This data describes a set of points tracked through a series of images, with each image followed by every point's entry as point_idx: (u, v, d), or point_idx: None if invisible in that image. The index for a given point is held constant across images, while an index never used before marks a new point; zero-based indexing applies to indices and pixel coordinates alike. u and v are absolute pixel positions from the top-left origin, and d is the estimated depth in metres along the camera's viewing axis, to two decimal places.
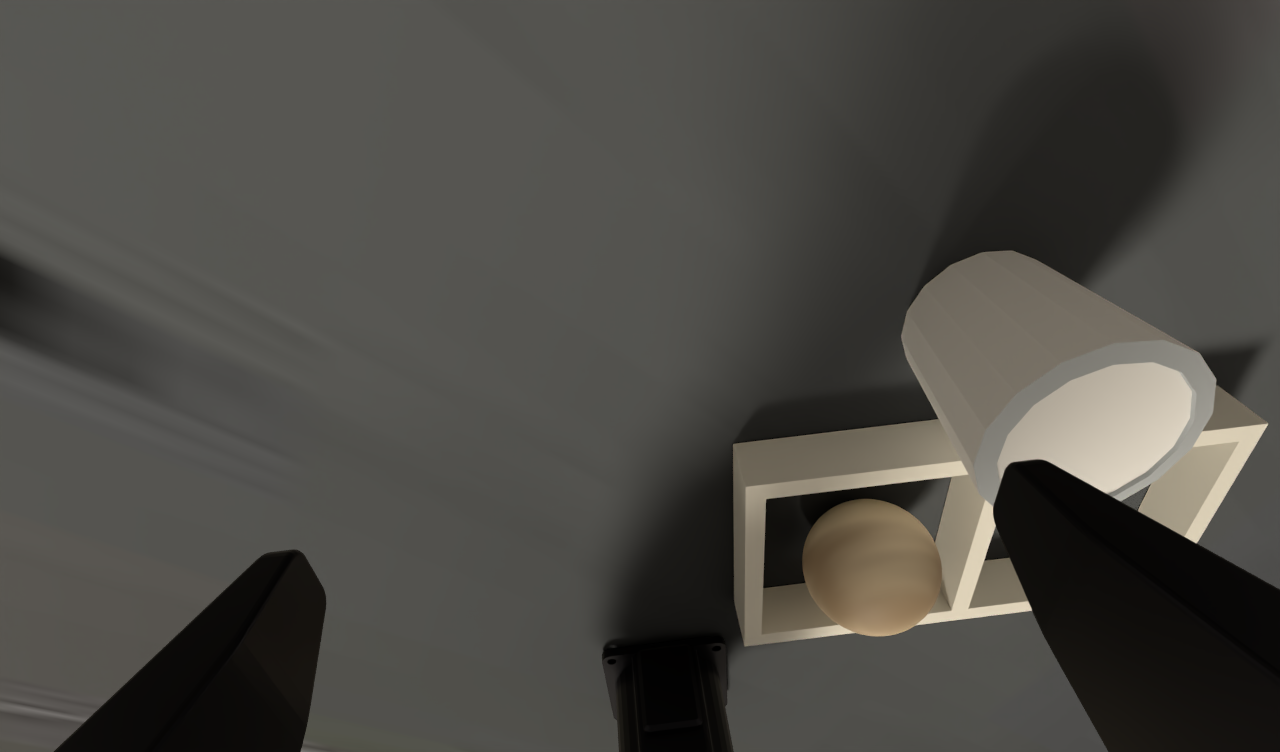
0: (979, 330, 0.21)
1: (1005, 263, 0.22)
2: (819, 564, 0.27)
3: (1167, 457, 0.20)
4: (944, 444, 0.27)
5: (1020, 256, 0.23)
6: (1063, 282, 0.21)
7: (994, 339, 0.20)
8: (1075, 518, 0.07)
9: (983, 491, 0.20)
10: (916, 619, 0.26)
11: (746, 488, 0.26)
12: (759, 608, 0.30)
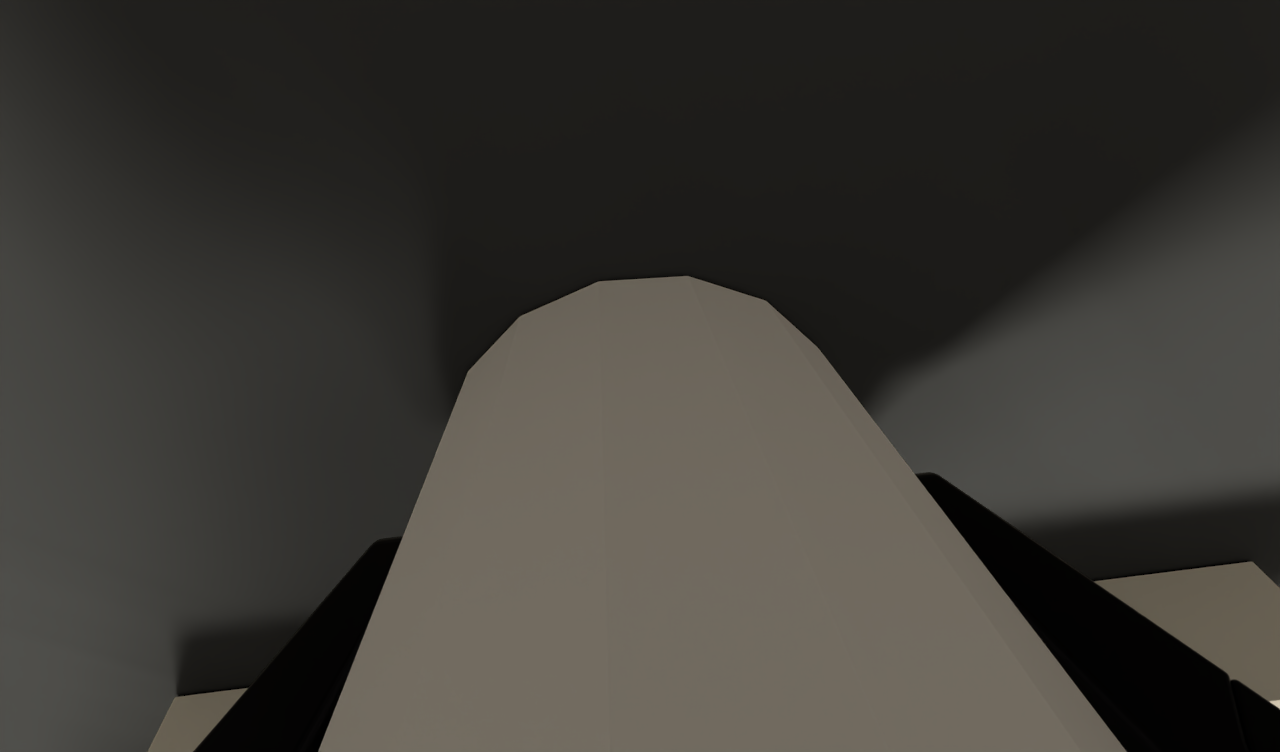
0: (395, 594, 0.05)
1: (621, 320, 0.07)
2: None
3: None
4: None
5: (691, 295, 0.08)
6: (731, 405, 0.06)
7: (375, 669, 0.05)
8: None
9: None
10: None
11: None
12: None
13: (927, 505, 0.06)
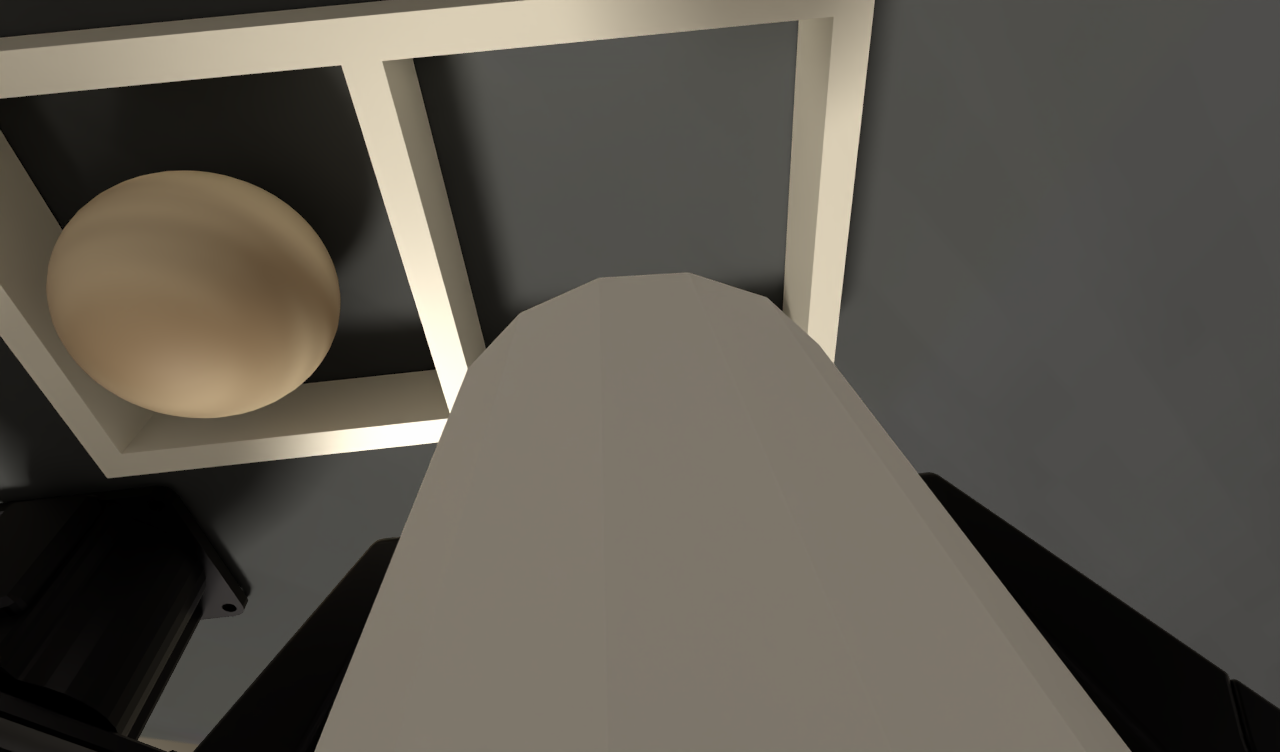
0: (394, 590, 0.05)
1: (621, 316, 0.07)
2: None
3: None
4: (259, 20, 0.13)
5: (691, 292, 0.08)
6: (731, 400, 0.06)
7: (373, 665, 0.05)
8: None
9: None
10: (200, 363, 0.13)
11: None
12: (73, 395, 0.17)
13: (929, 502, 0.06)
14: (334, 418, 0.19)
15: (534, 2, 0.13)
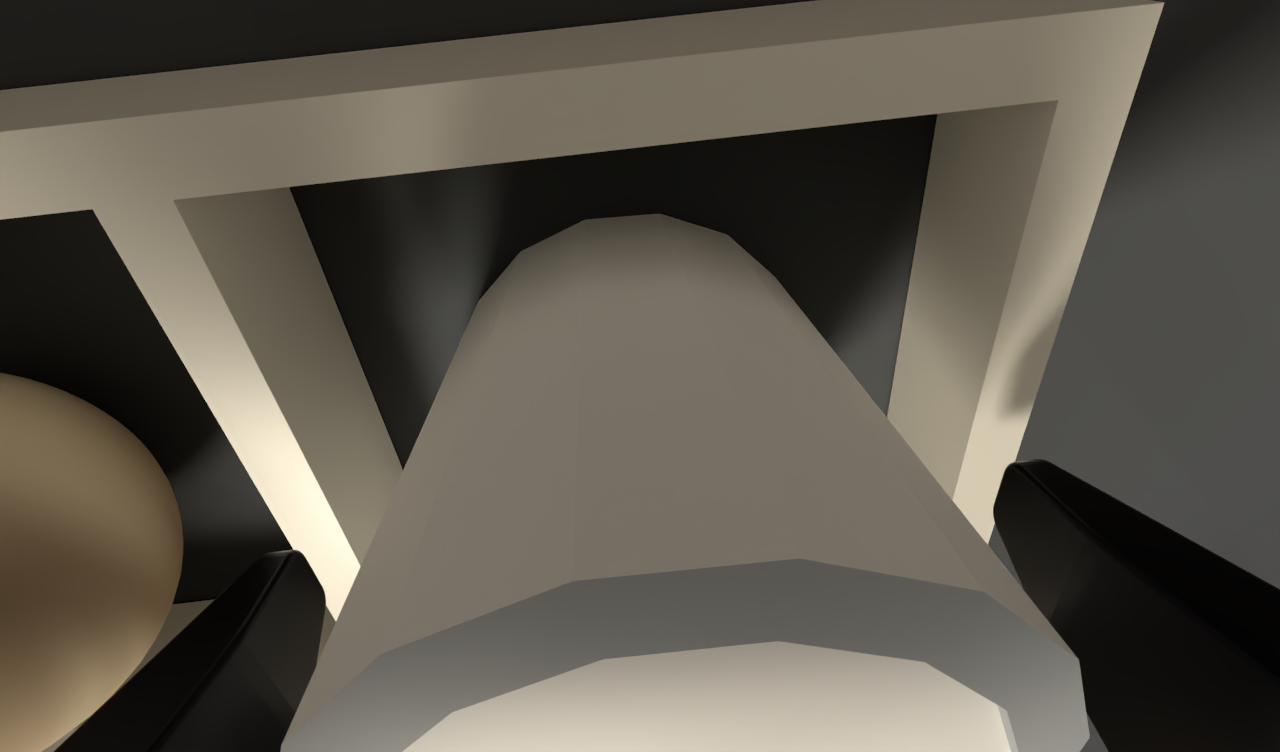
0: (425, 439, 0.07)
1: (601, 244, 0.09)
2: None
3: None
4: None
5: (660, 226, 0.09)
6: (683, 293, 0.07)
7: (413, 479, 0.06)
8: (1075, 518, 0.07)
9: None
10: None
11: None
12: None
13: (842, 373, 0.08)
14: None
15: (467, 86, 0.06)
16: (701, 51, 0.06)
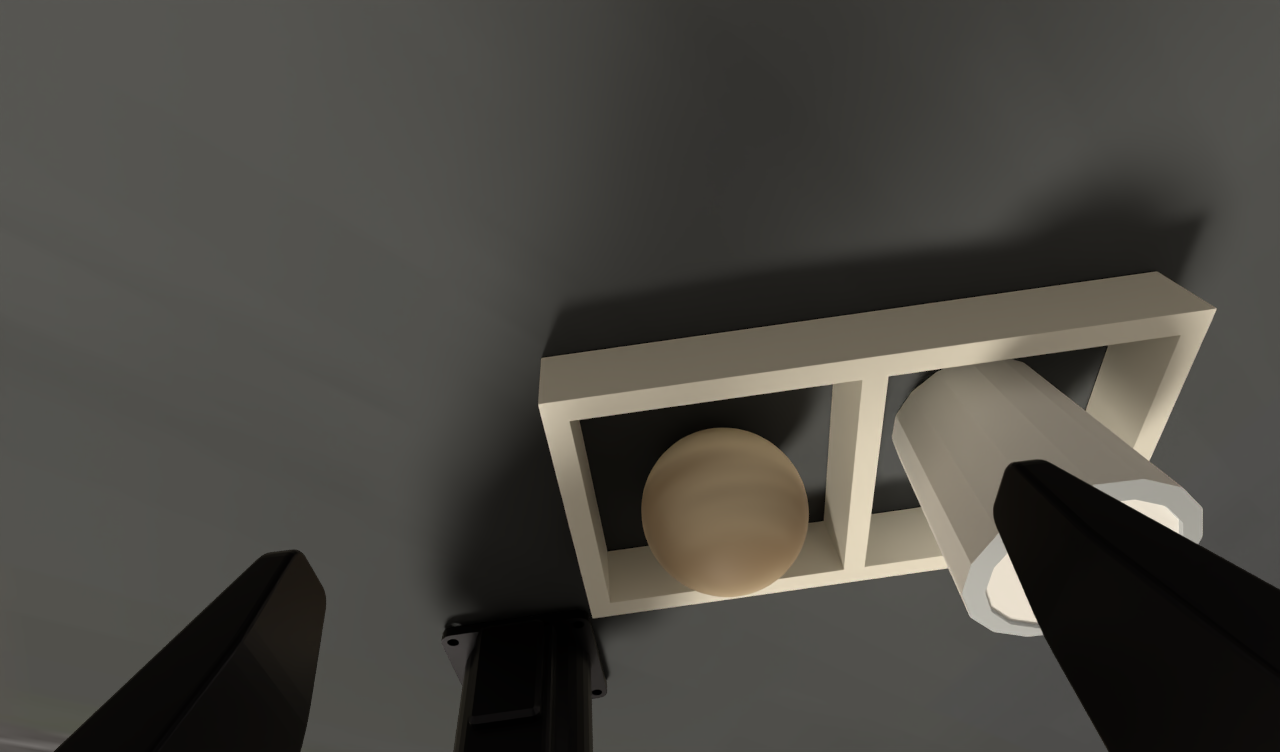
0: (964, 453, 0.21)
1: (990, 374, 0.22)
2: (650, 506, 0.22)
3: None
4: (800, 348, 0.21)
5: (1005, 363, 0.23)
6: (1047, 399, 0.21)
7: (978, 465, 0.20)
8: (1075, 518, 0.07)
9: (974, 615, 0.20)
10: (769, 572, 0.21)
11: (539, 406, 0.20)
12: (598, 569, 0.24)
13: None
14: None
15: (995, 341, 0.20)
16: (1066, 326, 0.20)
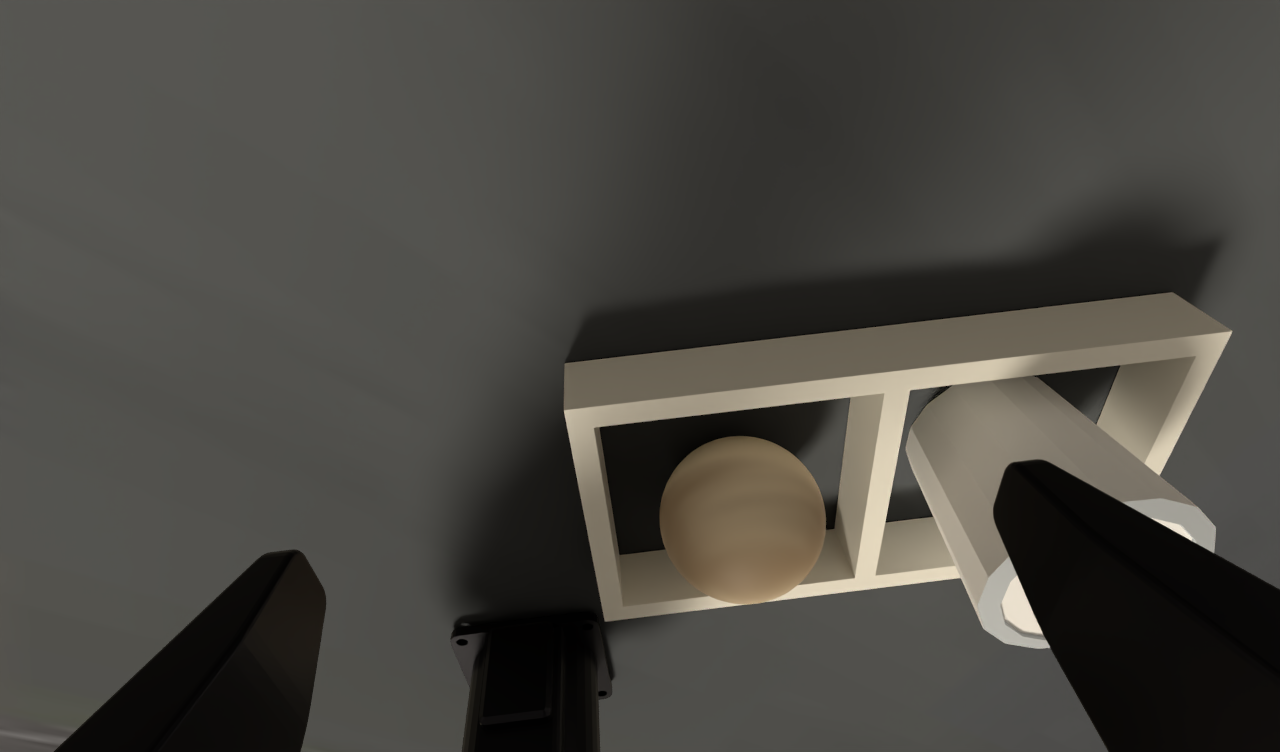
0: (981, 467, 0.21)
1: (1006, 389, 0.23)
2: (670, 513, 0.22)
3: None
4: (823, 360, 0.21)
5: (1021, 379, 0.23)
6: (1063, 416, 0.21)
7: (996, 480, 0.20)
8: (1075, 518, 0.07)
9: (988, 627, 0.21)
10: (787, 581, 0.21)
11: (565, 412, 0.20)
12: (613, 573, 0.24)
13: None
14: None
15: (1016, 358, 0.20)
16: (1086, 345, 0.20)
